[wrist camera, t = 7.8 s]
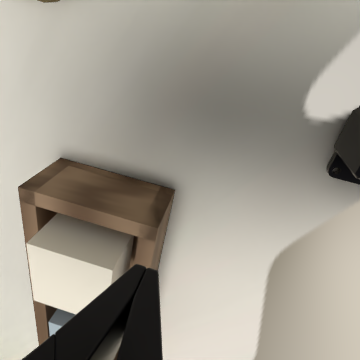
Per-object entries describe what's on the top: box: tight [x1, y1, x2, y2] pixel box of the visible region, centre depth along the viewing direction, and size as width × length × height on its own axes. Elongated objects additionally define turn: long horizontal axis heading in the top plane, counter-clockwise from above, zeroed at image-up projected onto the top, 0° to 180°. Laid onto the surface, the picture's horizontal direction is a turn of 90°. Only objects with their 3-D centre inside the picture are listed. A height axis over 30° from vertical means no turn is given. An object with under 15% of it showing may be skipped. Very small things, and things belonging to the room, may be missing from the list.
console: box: [18, 158, 175, 360], centre depth 26 cm, size 10×22×5 cm, turn 169°
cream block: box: [26, 213, 134, 314], centre depth 21 cm, size 6×6×4 cm
